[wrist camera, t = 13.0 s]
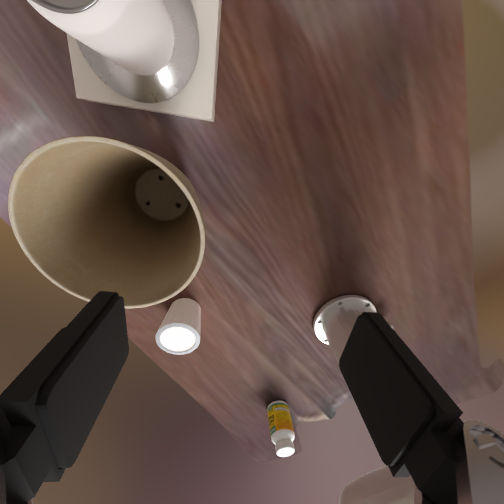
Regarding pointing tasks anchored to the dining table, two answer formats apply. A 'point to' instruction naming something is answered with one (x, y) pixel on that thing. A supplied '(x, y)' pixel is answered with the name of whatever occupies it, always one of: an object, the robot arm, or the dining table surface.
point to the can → (117, 29)
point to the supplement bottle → (281, 428)
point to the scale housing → (193, 95)
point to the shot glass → (180, 327)
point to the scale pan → (165, 80)
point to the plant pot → (107, 219)
